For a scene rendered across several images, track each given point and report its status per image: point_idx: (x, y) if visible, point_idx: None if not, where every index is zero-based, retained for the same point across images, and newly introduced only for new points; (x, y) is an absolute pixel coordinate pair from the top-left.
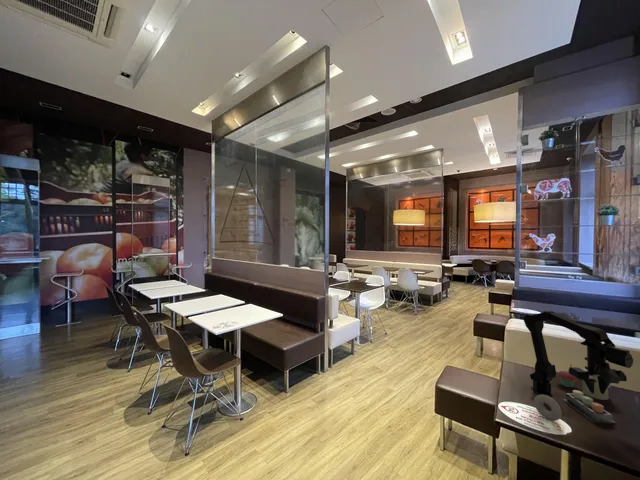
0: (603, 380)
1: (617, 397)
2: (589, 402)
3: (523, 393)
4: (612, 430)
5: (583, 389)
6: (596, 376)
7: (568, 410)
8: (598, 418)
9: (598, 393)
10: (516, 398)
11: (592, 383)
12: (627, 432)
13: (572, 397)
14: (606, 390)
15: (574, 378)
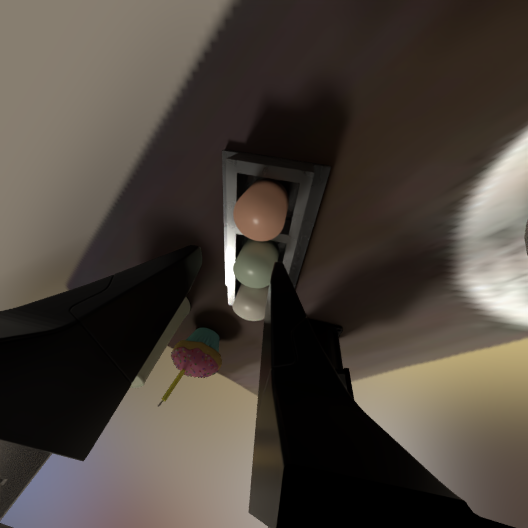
0: (61, 383)
1: None
2: (263, 251)
3: (388, 339)
4: (295, 88)
5: (184, 317)
6: None
7: (338, 252)
8: (301, 165)
9: None
10: (459, 329)
11: (301, 373)
12: (228, 66)
13: None
14: None
15: (185, 352)
